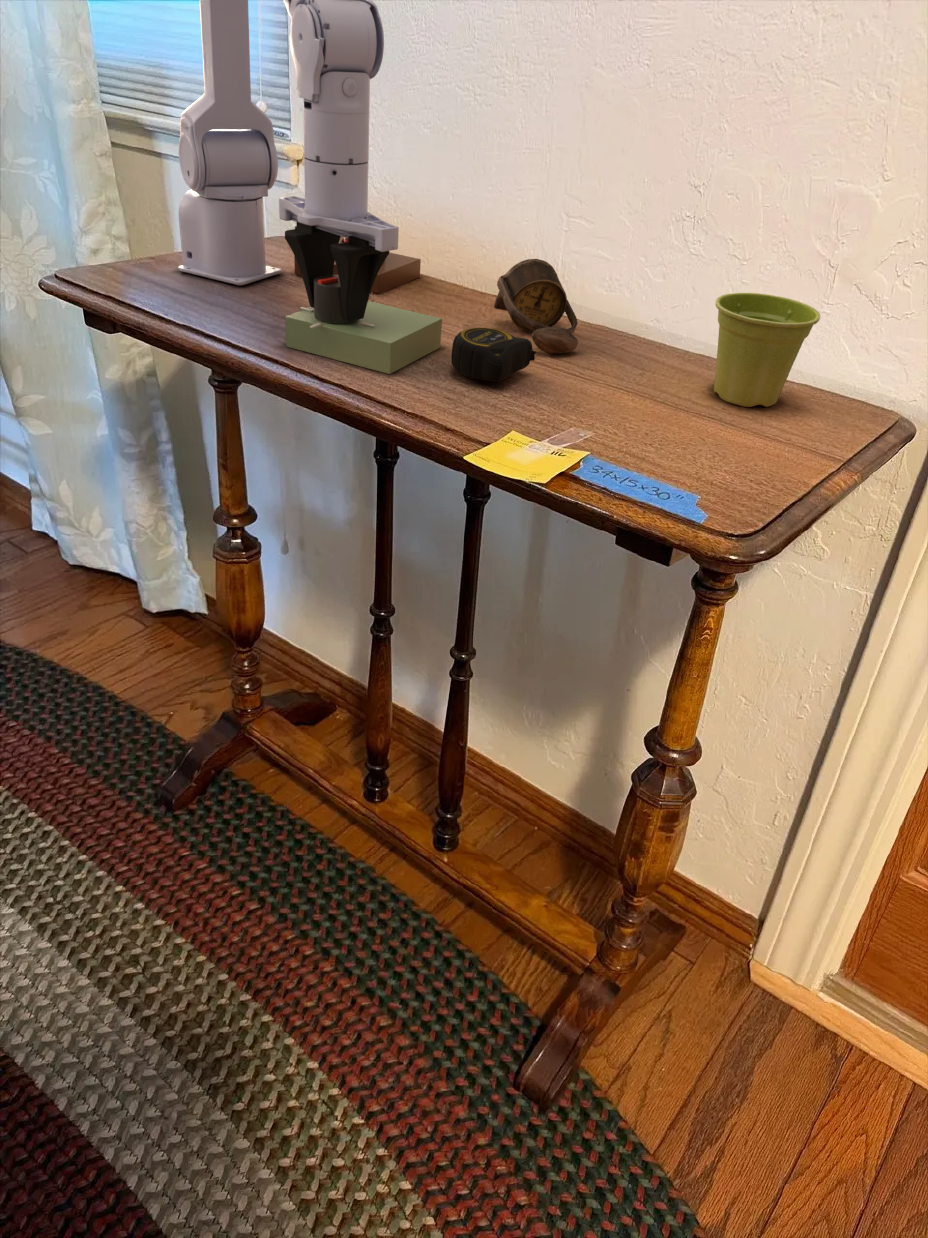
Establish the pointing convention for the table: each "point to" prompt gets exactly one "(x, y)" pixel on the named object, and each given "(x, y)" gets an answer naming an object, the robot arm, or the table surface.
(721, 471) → the table surface
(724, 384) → the plant pot
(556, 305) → the antique clock
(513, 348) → the tape measure
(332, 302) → the dial knob
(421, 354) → the dial panel
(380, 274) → the button block
